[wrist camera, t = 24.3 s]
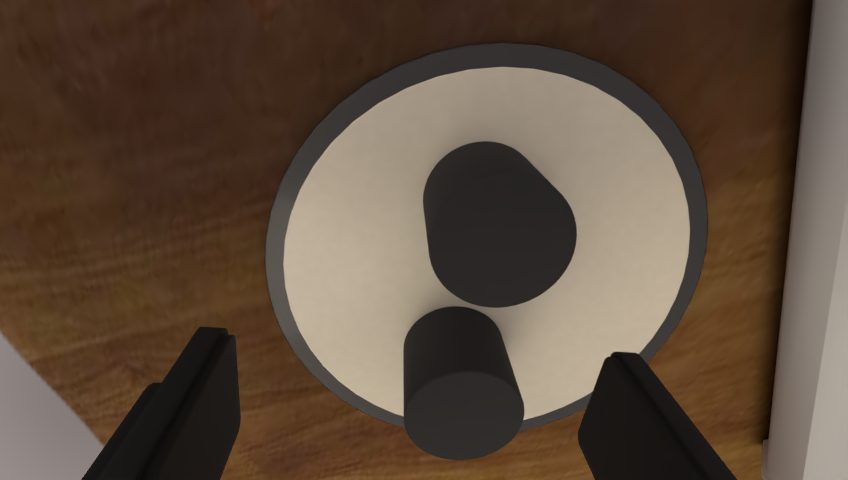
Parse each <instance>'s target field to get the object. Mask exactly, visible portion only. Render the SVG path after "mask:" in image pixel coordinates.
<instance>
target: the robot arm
mask: <svg viewBox="0 0 848 480" xmlns="http://www.w3.org/2000/svg"><path fill="white" fill-rule="evenodd" d="M240 420H241V416H240V401H239V386H238V371H237V355H236V340H235V336H234V335H228V331H227V329H225V328H214V327H200V328H198V330H197V331H196V332H195V334H194V335H193V337H192V338H191V340H190V341H189V343H188V344H187V346H186V347H185V349H184V350H183V352H182V353H181V355H180V356H179V358H178V359H177V361H176V362H175V364H174V365H173V367H172V368H171V370H170V371H169V373H168V374H167V376H166V377H165V379H164V380H163V382H162V383H152V384H150V385H149V386H148V387H147V388H146V389H145V390H144V391H143V393H142V394H141V396H140V397H139V399H138V400H137V401H136V403H135V404H134V406H133V407H132V409H131V410H130V411H129V413H128V414H127V416H126V417H125V419H124V420H123V421H122V423H121V424H120V426H119V427H118V428H117V430H116V431H115V433H114V434H113V436H112V437H111V438H110V440H109V441H108V443H107V444H106V446H105V447H104V448H103V450H102V451H101V453H100V454H99V455H98V457H97V458H96V460H95V461H94V463H93V464H92V465H91V467H90V468H89V470H88V471H87V473H86V474H85V475H84V477H83V478H82V480H220V478H221V475H222V473H223V470H224V468H225V465H226V463H227V460H228V457H229V455H230V452H231V450H232V447H233V445H234V442H235V440H236V437H237V434H238V431H239V427H240ZM578 441H579V445H580V447H581V450H582V452H583V454H584V456H585V458H586V460H587V463H588V465H589V467H590V469H591V471H592V474H593V476H594V478H595V480H737V479H736V478H735V476H734V475H733V474H732V473H731V471H730V470H729V469H728V467H727V466H726V465H725V464H724V462H723V461H722V460H721V458H720V457H719V456H718V455H717V453H716V452H715V451H714V449H713V448H712V447H711V446H710V444H709V443H708V442H707V440H706V439H705V438H704V437H703V435H702V434H701V433H700V431H699V430H698V429H697V428H696V426H695V425H694V424H693V422H692V421H691V420H690V419H689V417H688V416H687V415H686V413H685V412H684V411H683V410H682V408H681V407H680V406H679V404H678V403H677V402H676V401H675V399H674V398H673V397H672V395H671V394H670V393H669V392H668V390H667V389H666V388H665V386H664V385H663V384H662V383H661V381H660V380H659V379H658V377H657V376H656V375H655V374H654V372H653V371H652V370H651V368H650V367H649V366H648V365H647V363H646V362H645V361H644V359H643V358H642V357H641V356H640V355H639V354H638V353H632V352H613V353H612V354H611V356H610V357H607V358H605V360H604V362H603V365H602V368H601V370H600V373H599V376H598V379H597V381H596V384H595V387H594V390H593V392H592V395H591V398H590V401H589V403H588V406H587V409H586V411H585V414H584V417H583V420H582V422H581V425H580V428H579V431H578Z"/></svg>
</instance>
